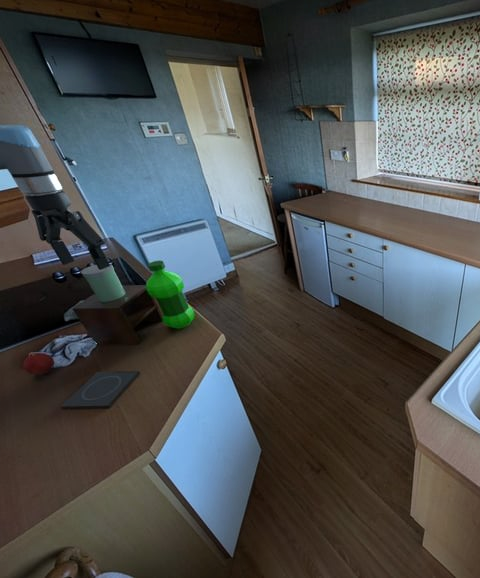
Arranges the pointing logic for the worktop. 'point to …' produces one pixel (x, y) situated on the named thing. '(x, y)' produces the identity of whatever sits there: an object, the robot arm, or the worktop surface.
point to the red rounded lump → (38, 363)
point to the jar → (104, 283)
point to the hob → (101, 390)
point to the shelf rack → (118, 316)
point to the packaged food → (71, 314)
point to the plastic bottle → (169, 296)
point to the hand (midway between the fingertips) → (86, 265)
